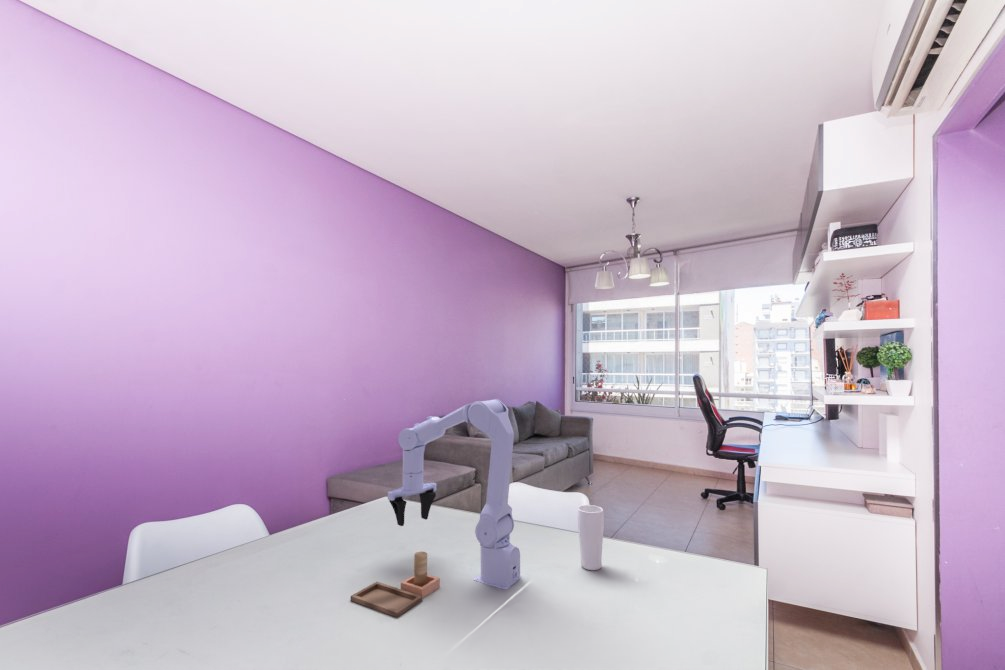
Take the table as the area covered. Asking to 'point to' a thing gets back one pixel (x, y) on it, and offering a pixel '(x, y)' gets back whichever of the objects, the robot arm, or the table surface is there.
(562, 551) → the table surface
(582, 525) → the drinking glass
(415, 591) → the open box
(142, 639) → the table surface
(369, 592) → the tray
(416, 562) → the dowel
